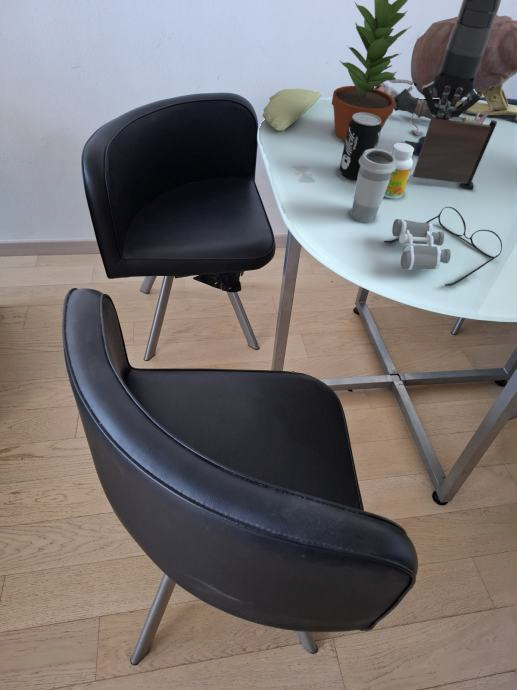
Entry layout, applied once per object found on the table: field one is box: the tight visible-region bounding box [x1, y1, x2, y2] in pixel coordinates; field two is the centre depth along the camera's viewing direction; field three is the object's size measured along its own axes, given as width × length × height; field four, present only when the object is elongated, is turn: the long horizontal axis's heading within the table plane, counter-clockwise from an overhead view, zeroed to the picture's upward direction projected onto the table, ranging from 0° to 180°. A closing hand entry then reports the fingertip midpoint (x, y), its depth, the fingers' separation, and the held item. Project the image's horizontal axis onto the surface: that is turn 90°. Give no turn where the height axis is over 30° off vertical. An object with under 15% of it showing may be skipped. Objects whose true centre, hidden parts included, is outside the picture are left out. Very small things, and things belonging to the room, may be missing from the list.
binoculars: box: [391, 218, 452, 271], centre depth 83 cm, size 12×8×4 cm, turn 179°
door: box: [412, 118, 491, 184], centre depth 100 cm, size 1×12×12 cm, turn 85°
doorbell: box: [404, 135, 426, 156], centre depth 116 cm, size 12×6×2 cm, turn 78°
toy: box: [374, 78, 491, 136], centre depth 126 cm, size 9×17×30 cm
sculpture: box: [410, 14, 517, 99], centre depth 132 cm, size 19×28×30 cm
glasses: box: [383, 206, 503, 287], centre depth 87 cm, size 14×15×5 cm
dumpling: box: [262, 88, 322, 132], centre depth 123 cm, size 26×4×10 cm
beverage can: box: [339, 112, 382, 182], centre depth 101 cm, size 7×7×12 cm
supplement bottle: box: [383, 142, 414, 200], centre depth 98 cm, size 5×5×10 cm
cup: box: [350, 148, 396, 223], centre depth 90 cm, size 7×7×12 cm
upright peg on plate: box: [460, 119, 498, 191], centre depth 101 cm, size 2×2×14 cm
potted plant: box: [331, 0, 413, 142], centre depth 108 cm, size 15×15×30 cm
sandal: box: [454, 83, 517, 123], centre depth 134 cm, size 13×23×8 cm, turn 52°
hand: (437, 132), depth 113 cm, fingers closed
